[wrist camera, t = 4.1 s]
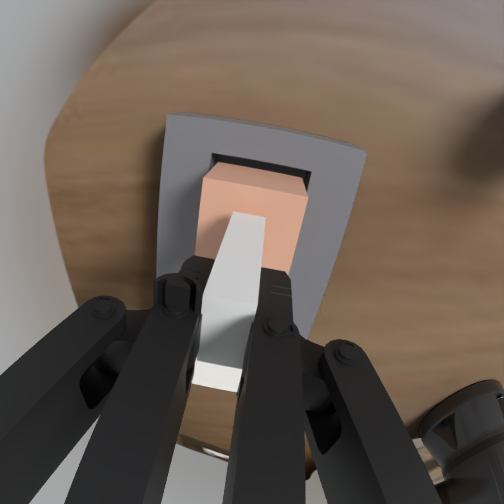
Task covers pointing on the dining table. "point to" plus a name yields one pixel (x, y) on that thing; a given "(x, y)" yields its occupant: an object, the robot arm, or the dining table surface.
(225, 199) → the key terracotta
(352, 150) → the grey flat block
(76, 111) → the dining table surface
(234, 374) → the key offwhite
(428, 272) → the dining table surface
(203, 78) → the dining table surface
